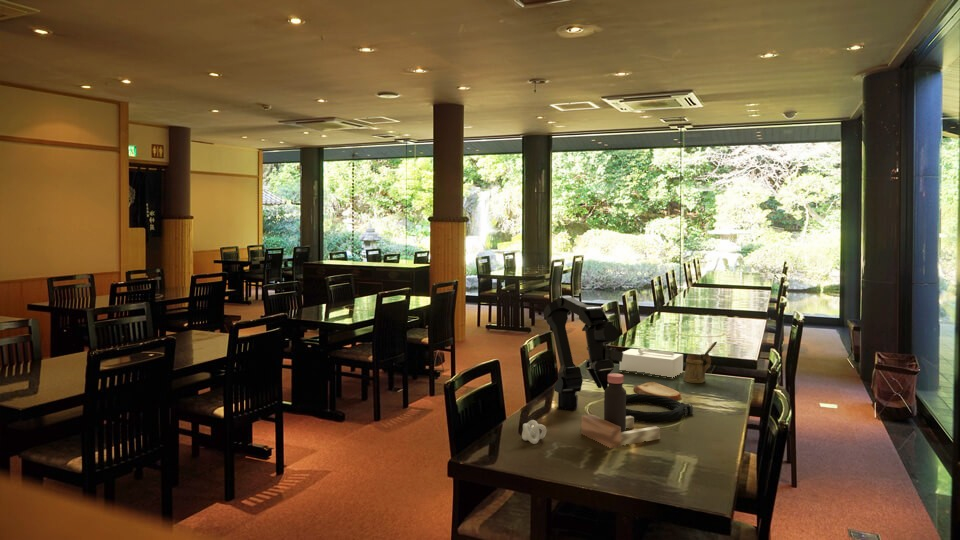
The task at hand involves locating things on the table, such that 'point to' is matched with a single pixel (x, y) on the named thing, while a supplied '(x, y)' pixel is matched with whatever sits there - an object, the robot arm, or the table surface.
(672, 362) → the tissue box
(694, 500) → the table surface
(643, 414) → the cable lock
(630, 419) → the track
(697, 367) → the wooden mug
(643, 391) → the bread slice
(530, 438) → the knot
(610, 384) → the vinegar
